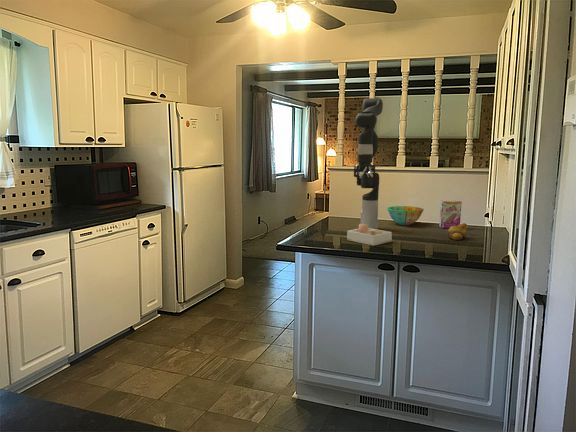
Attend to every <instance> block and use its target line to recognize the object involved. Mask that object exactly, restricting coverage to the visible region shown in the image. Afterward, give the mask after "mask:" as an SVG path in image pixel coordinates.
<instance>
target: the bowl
mask: <svg viewBox="0 0 576 432" xmlns="http://www.w3.org/2000/svg"><path fill="white" fill-rule="evenodd" d="M386 210H387V212H388V215H389V217H390V218H391V219H392V220H393V221H394V222H395V223H397V224H398V225H400V226H411V225H412V224H415V223H416V222H417V221H418V220H419V219H420V217H421V216H422V214H423V212H424V210H425V209H424V208H422V207H418V206H409V205H408V206H405V205H397V206H394V205H393V206H389V207H387V208H386Z"/></svg>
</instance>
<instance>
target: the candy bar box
mask: <svg viewBox="0 0 576 432" xmlns="http://www.w3.org/2000/svg"><path fill="white" fill-rule="evenodd" d="M439 208H440V211H439V228H440V229H449V228H450V227H451V226H458V225H460V224H461V218H462V217H461V214H462V201H461V200H450V199H449V200H448V199H447V200H446V199H445V200H443V199H442V200H440V207H439Z"/></svg>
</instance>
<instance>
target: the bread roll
mask: <svg viewBox="0 0 576 432" xmlns="http://www.w3.org/2000/svg"><path fill="white" fill-rule="evenodd" d="M468 228H469V226H468V224H466V223H465V222H464V223H460V225H458V226H451V227H450V228H447V236H448V238H450V239H452V240H455V241H461V240H463V239H465V238H466V236H467V231H468Z"/></svg>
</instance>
